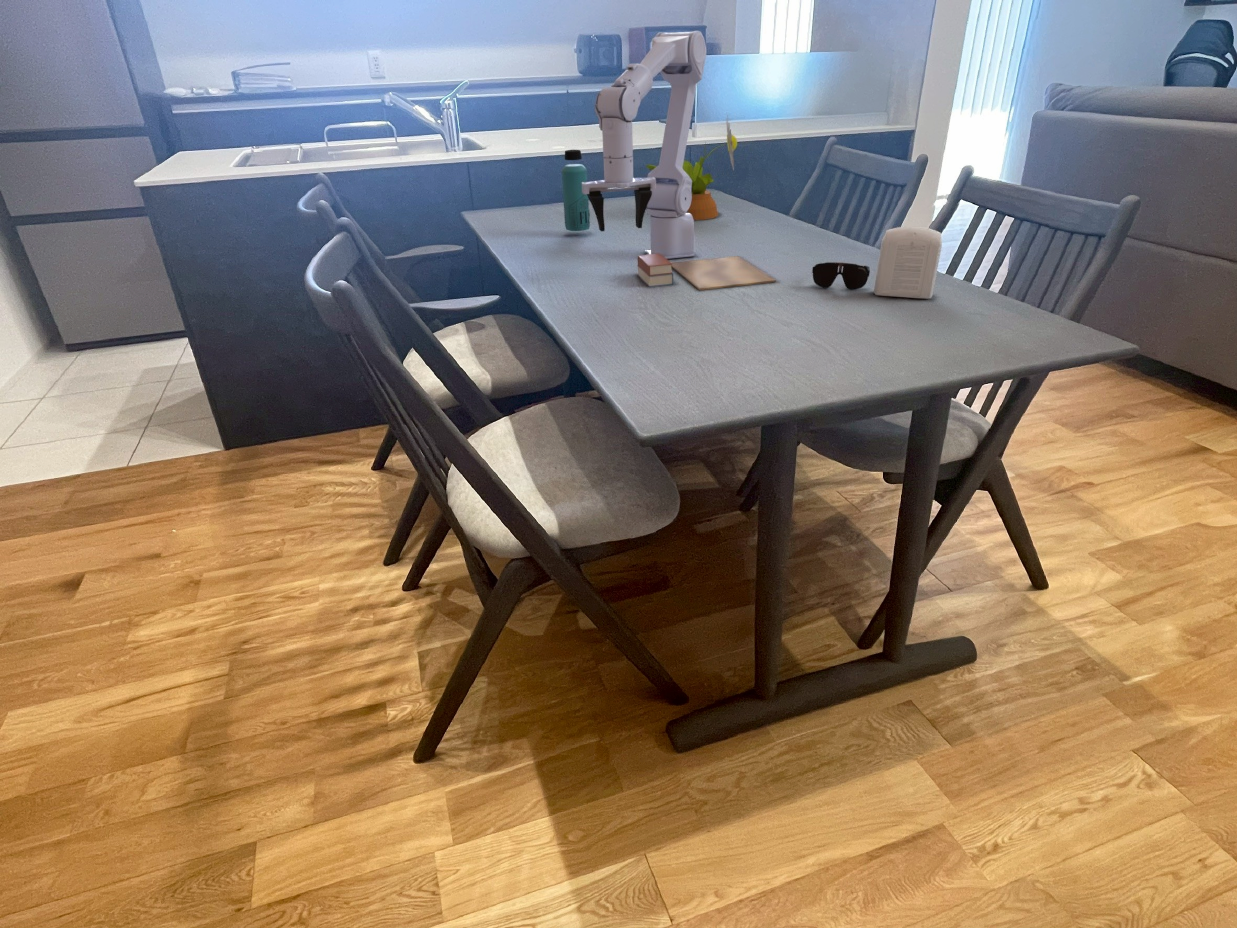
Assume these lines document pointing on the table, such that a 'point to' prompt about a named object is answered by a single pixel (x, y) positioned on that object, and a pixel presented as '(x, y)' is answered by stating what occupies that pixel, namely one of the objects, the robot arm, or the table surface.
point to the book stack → (655, 270)
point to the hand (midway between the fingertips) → (620, 228)
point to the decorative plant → (704, 183)
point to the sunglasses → (851, 274)
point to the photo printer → (908, 262)
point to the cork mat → (720, 273)
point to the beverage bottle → (575, 194)
